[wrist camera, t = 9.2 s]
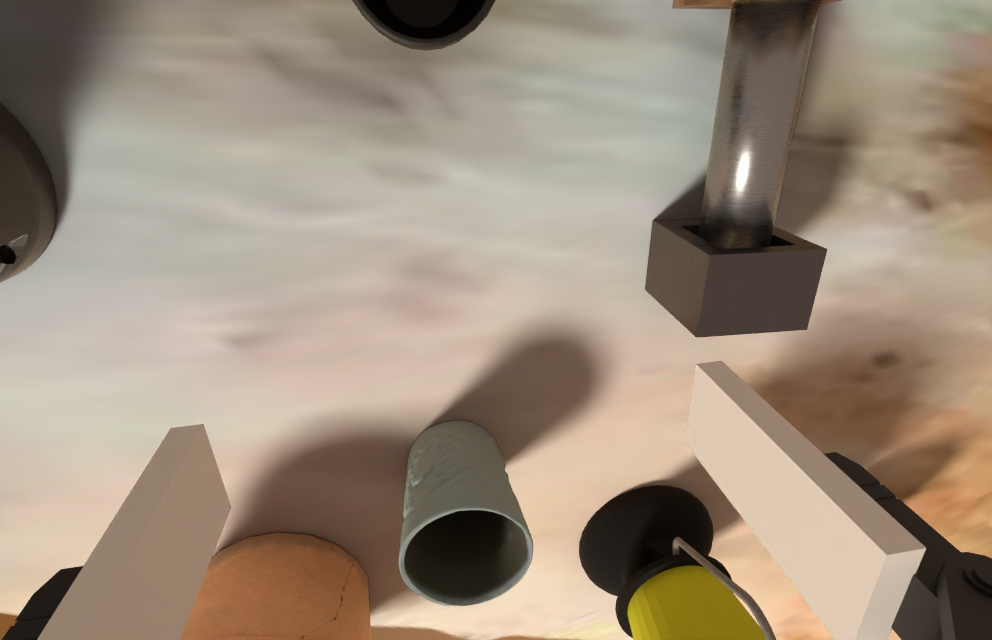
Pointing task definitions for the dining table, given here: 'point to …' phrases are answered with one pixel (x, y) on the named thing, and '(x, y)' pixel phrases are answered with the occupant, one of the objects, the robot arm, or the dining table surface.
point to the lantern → (666, 569)
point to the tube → (755, 119)
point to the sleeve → (732, 281)
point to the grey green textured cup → (461, 518)
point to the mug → (425, 20)
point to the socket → (713, 4)
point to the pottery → (281, 592)
